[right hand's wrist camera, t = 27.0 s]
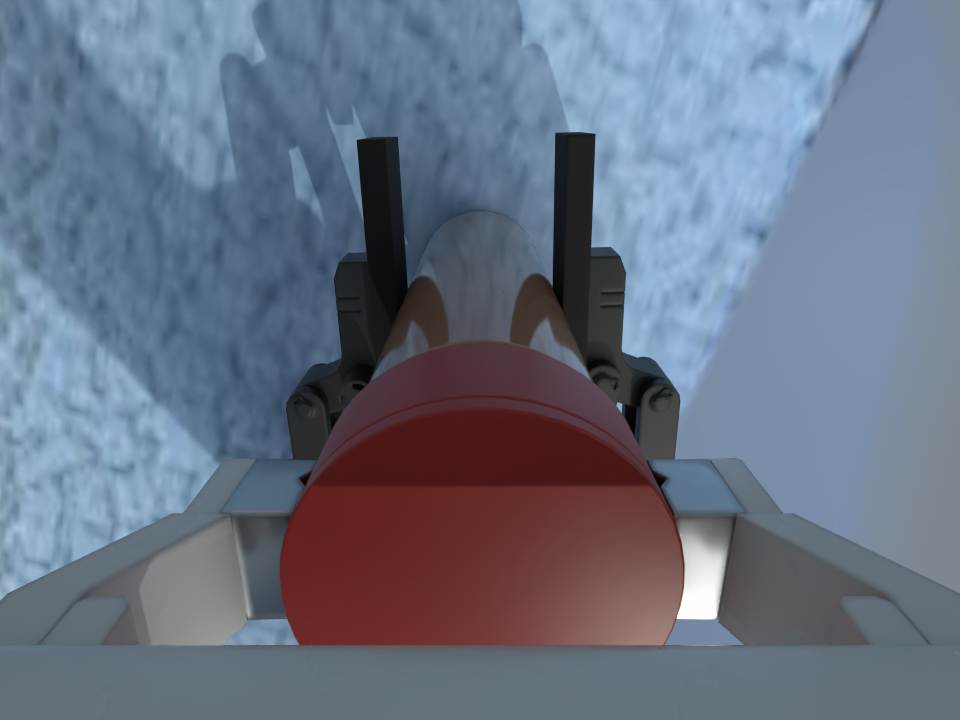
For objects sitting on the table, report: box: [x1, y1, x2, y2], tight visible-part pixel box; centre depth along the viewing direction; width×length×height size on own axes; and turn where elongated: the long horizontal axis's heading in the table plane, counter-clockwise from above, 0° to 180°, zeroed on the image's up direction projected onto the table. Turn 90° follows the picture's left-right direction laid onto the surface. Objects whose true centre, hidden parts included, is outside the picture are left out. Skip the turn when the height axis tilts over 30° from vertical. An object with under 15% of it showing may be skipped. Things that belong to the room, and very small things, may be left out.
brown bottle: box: [368, 211, 594, 384], centre depth 18 cm, size 5×5×18 cm
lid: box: [279, 344, 685, 645], centre depth 9 cm, size 5×5×2 cm
